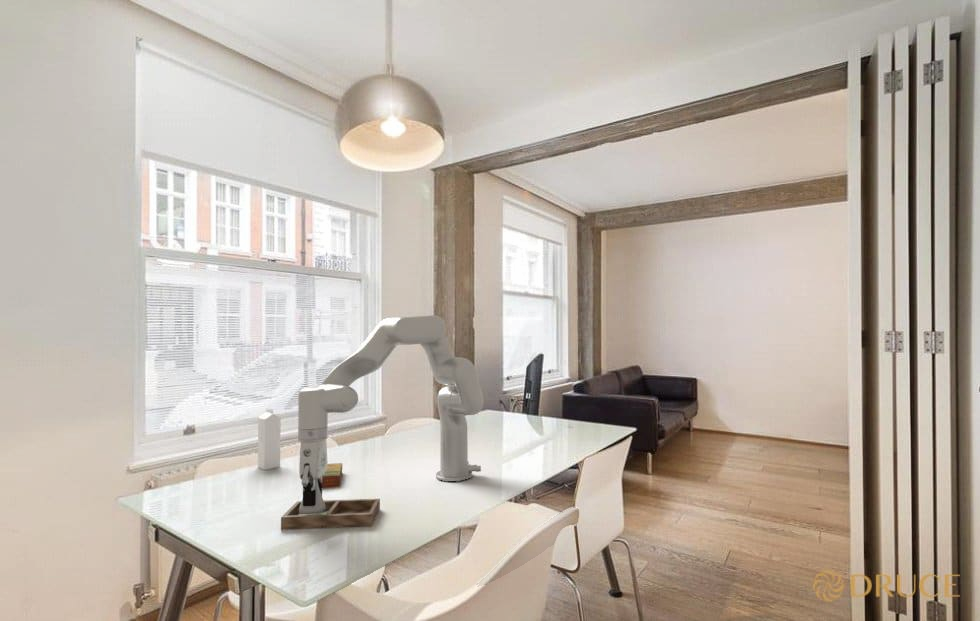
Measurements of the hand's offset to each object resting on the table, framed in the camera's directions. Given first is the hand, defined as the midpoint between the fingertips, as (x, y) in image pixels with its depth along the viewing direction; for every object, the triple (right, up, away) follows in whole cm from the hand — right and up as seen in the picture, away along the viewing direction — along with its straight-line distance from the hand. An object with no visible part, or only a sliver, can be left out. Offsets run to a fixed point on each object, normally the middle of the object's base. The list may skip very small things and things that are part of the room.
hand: (312, 501), depth 129 cm
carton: (-8, -8, +35) cm, 37 cm away
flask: (0, -3, 0) cm, 3 cm away
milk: (-37, -9, +54) cm, 65 cm away
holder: (+5, -5, 0) cm, 7 cm away
